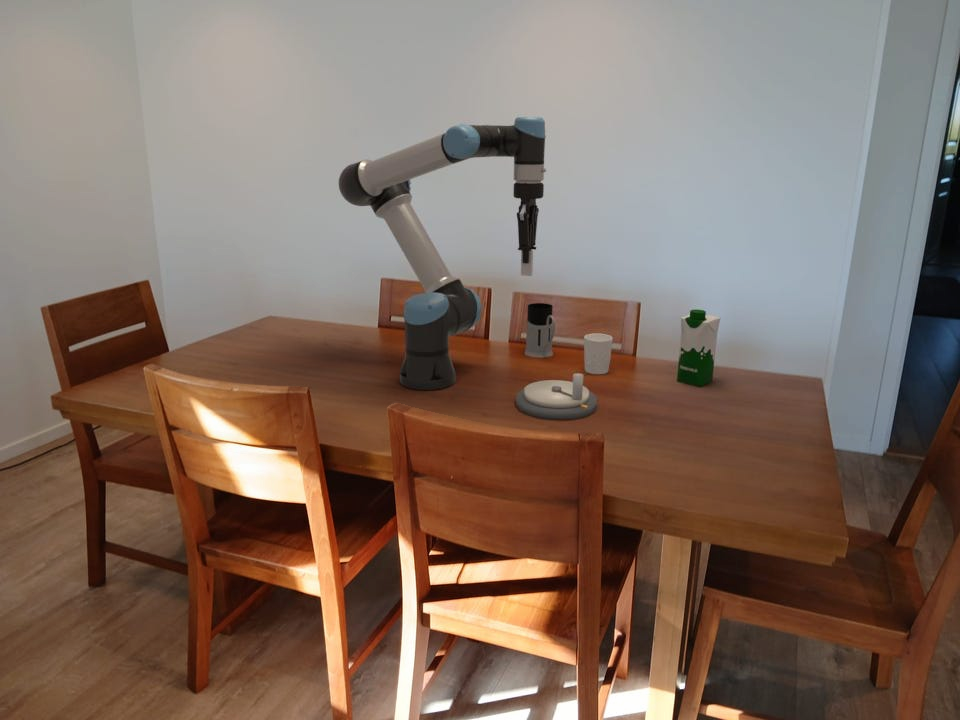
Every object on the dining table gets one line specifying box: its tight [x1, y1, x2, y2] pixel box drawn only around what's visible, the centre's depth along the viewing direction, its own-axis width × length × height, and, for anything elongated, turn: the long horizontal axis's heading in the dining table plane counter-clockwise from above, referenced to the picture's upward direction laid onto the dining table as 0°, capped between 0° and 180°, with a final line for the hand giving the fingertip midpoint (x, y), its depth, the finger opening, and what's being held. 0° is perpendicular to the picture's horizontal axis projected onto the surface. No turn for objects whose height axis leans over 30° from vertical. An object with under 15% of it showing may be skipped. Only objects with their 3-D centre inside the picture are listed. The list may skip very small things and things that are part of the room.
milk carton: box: [676, 309, 721, 388], centre depth 196 cm, size 9×9×20 cm
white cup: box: [583, 333, 613, 375], centre depth 205 cm, size 8×8×10 cm
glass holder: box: [524, 302, 556, 359], centre depth 218 cm, size 9×14×15 cm, turn 21°
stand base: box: [515, 387, 598, 421], centre depth 181 cm, size 20×20×2 cm
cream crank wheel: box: [523, 372, 590, 408], centre depth 179 cm, size 16×16×8 cm
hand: (526, 275), depth 189 cm, fingers closed
